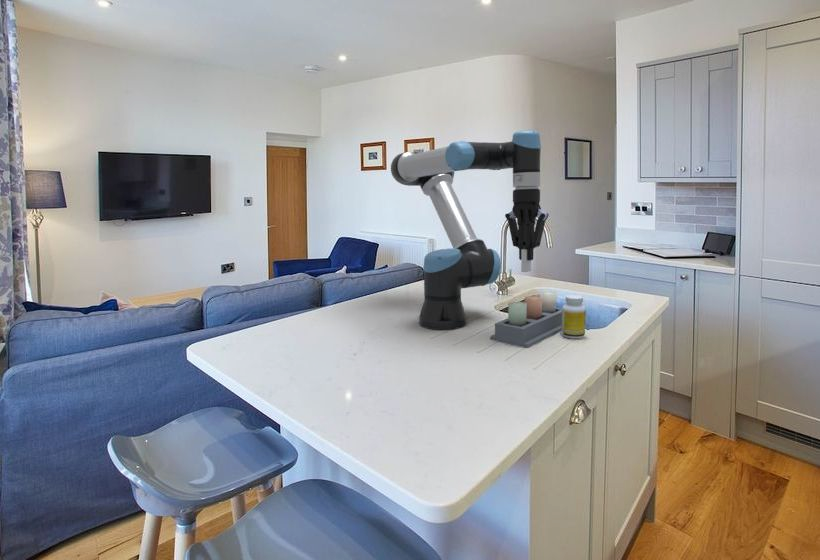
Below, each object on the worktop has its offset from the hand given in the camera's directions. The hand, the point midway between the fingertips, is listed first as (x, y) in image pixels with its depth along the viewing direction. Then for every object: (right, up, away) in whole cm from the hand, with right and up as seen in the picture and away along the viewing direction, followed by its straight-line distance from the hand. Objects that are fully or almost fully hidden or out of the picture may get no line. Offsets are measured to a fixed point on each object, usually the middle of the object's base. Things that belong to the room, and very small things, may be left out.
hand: (526, 271), depth 145 cm
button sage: (-3, -15, -3) cm, 16 cm away
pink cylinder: (+3, -14, +4) cm, 15 cm away
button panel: (+3, -18, +5) cm, 19 cm away
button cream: (+9, -12, +11) cm, 18 cm away
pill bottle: (+14, -19, +1) cm, 23 cm away
